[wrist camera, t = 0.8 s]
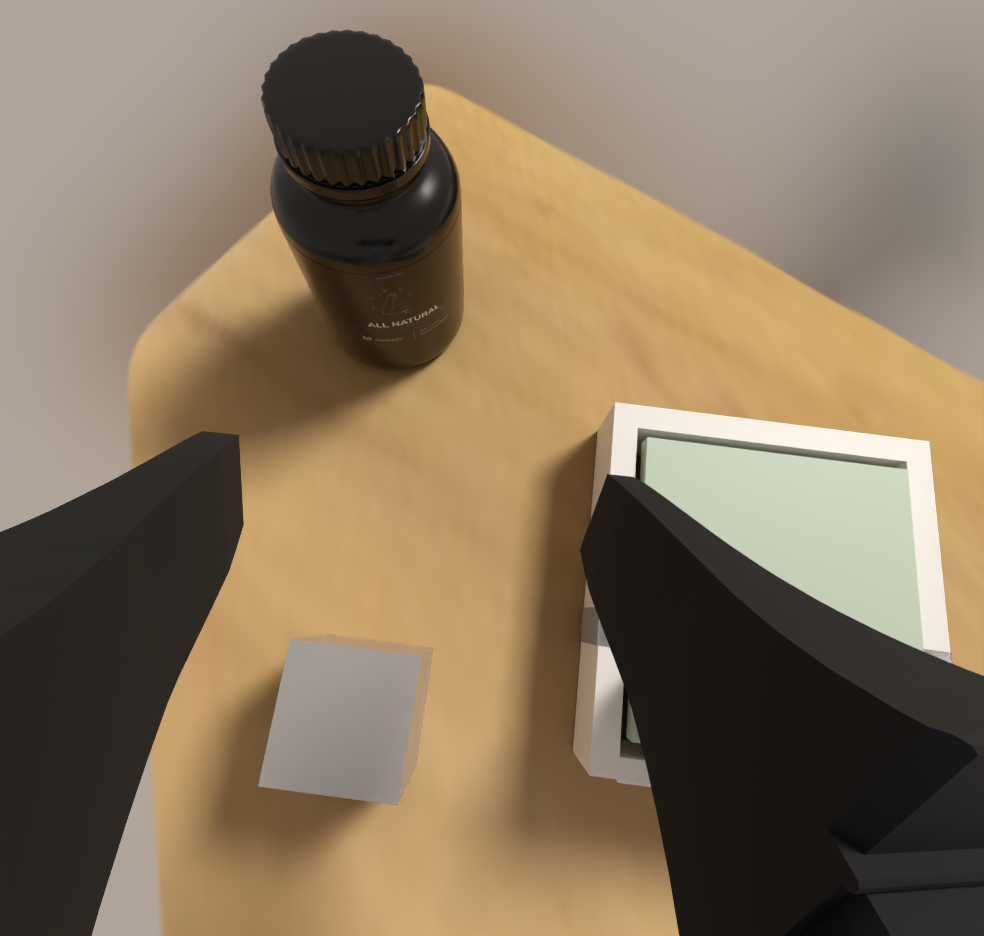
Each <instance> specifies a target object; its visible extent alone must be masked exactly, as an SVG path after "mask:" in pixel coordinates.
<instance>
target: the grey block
mask: <svg viewBox="0 0 984 936" xmlns="http://www.w3.org/2000/svg"><path fill="white" fill-rule="evenodd" d="M433 650H434V648H430V647H423V646H415V645H408V644H400V643H393V642H385V641H377V640H370V639H362V638H355V637H347V636H339V635H332V634H328V635H319V636H310V637H302V638H293V639H290V641H289V646H288V650H287V655H286V659H285V664H284V669H283V673H282V678H281V682H280V687H279V692H278V696H277V701H276V705H275V710H274V715H273V719H272V724H271V728H270V733H269V738H268V742H267V747H266V751H265V756H264V761H263V765H262V770H261V774H260V779H259V784H258V786H259V787H266V788H273V789H281V790H288V791H295V792H303V793H310V794H317V795H324V796H332V797H339V798H346V799H354V800H361V801H368V802H375V803H383V804H390V805H397V806H398V805H399V802H400V800H401V798H402V796H403V793H404V791H405V789H406V787H407V784H408V782H409V780H410V778H411V776H412V773H413V771H414V769H415V767H416V764H417V758H418V751H419V745H420V738H421V731H422V724H423V717H424V711H425V704H426V697H427V690H428V684H429V677H430V670H431V663H432V656H433Z"/></svg>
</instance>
